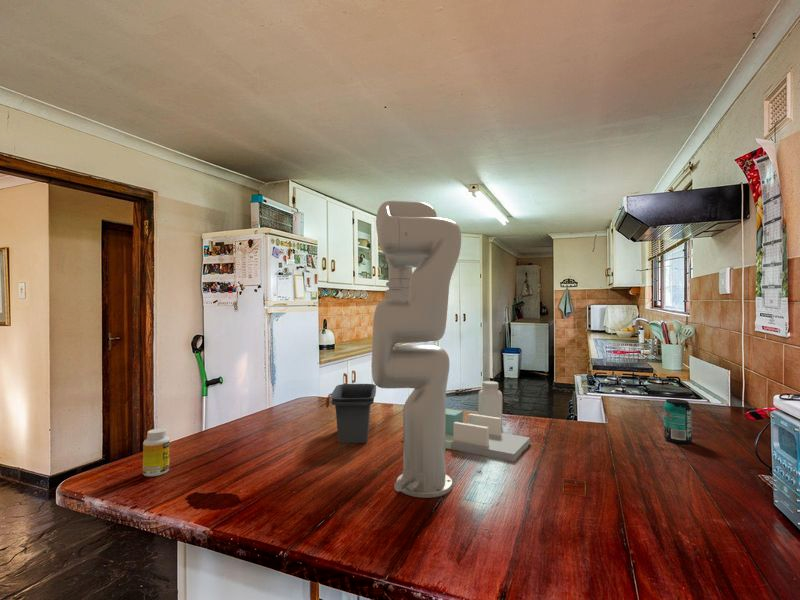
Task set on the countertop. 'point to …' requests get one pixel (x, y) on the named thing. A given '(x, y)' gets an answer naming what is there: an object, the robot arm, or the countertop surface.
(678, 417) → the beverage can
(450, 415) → the teal block
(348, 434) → the storage bin
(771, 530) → the countertop surface
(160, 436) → the supplement bottle
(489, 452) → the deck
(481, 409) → the pill bottle
